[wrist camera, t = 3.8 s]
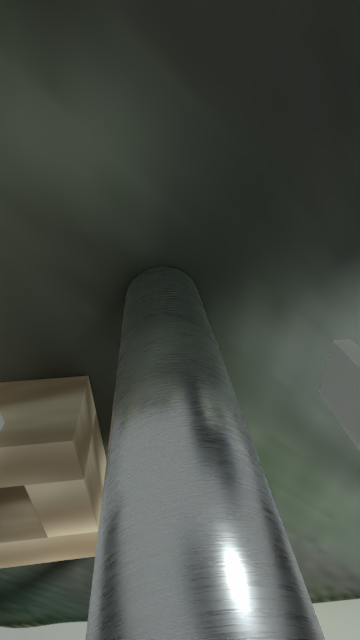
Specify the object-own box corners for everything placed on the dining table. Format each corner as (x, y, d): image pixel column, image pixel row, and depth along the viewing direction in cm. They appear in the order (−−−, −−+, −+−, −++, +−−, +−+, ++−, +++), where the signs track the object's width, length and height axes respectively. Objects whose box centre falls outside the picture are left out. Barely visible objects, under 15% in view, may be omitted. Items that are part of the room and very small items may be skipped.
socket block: (-112, 390, 19) (-188, 465, 14) (88, 375, 20) (72, 440, 15) (-39, 502, 25) (-77, 577, 20) (112, 486, 26) (105, 555, 21)
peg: (121, 268, 16) (38, 739, 3) (199, 264, 17) (388, 680, 4) (129, 334, 18) (95, 780, 6) (198, 329, 19) (316, 739, 6)
